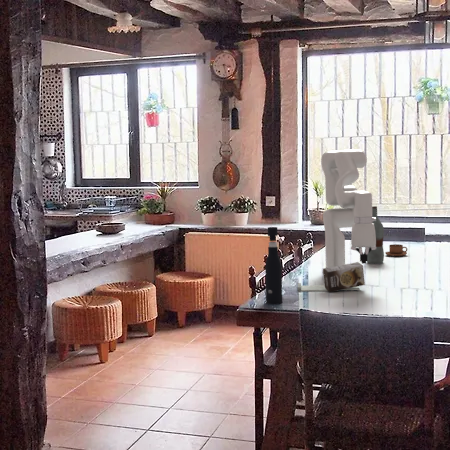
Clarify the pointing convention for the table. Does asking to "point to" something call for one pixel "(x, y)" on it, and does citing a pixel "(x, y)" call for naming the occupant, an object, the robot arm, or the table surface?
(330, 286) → the coffee box
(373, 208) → the vodka
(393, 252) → the cup and saucer
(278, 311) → the table surface
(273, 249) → the wine bottle
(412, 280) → the table surface
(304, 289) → the pale green rectangular board
